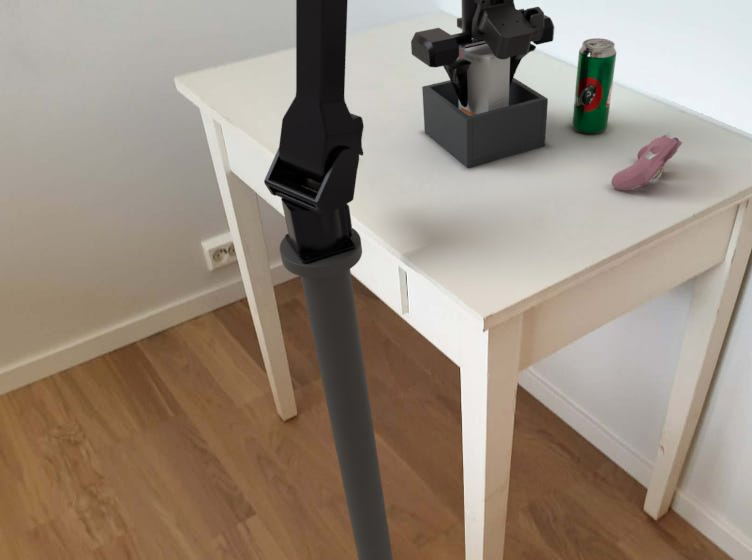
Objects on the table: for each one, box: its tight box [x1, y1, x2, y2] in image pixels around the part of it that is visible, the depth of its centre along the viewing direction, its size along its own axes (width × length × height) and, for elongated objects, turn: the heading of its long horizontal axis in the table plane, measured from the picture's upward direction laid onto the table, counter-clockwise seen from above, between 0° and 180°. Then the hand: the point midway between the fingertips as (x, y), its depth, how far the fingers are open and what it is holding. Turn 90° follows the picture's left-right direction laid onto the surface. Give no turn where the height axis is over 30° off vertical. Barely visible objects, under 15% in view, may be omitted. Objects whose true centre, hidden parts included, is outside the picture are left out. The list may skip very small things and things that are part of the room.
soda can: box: [571, 37, 617, 135], centre depth 102 cm, size 5×5×12 cm
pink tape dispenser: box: [611, 132, 683, 191], centre depth 93 cm, size 10×5×7 cm, turn 147°
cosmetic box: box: [459, 44, 510, 116], centre depth 100 cm, size 6×4×12 cm
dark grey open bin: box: [421, 77, 549, 169], centre depth 102 cm, size 13×13×7 cm
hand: (483, 101), depth 100 cm, fingers open, 6 cm apart
